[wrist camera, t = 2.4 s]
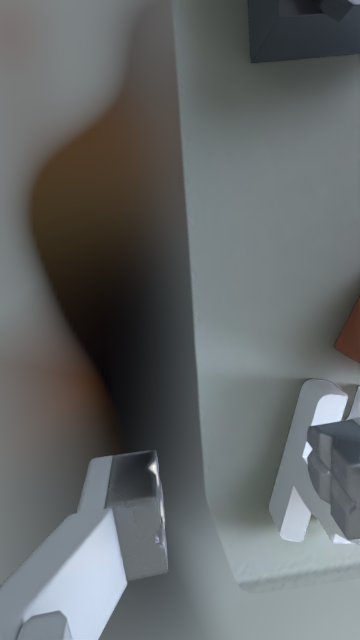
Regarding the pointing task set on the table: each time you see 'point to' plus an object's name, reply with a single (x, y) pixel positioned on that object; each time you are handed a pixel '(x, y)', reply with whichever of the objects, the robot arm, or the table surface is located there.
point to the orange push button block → (351, 335)
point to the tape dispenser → (293, 477)
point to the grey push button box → (303, 29)
